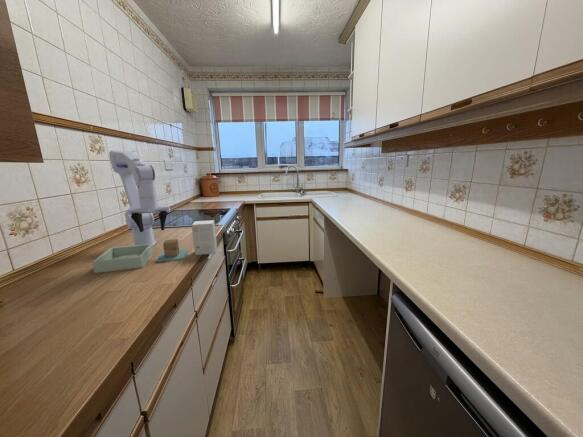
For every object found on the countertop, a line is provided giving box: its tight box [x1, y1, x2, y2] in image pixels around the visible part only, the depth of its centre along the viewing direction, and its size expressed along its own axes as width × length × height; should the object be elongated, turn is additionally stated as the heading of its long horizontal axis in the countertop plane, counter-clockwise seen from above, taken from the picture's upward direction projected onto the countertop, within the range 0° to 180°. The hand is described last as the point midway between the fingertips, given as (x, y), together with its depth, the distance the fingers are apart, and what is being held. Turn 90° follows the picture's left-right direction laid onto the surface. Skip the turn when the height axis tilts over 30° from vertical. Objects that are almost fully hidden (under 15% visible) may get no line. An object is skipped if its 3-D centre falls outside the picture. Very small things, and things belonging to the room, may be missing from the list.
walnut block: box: [162, 238, 180, 258], centre depth 98 cm, size 4×4×6 cm
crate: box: [91, 244, 155, 274], centre depth 93 cm, size 15×15×4 cm
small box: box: [191, 219, 218, 256], centre depth 101 cm, size 8×6×13 cm
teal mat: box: [155, 249, 188, 263], centre depth 98 cm, size 10×10×1 cm
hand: (152, 230), depth 98 cm, fingers open, 7 cm apart
